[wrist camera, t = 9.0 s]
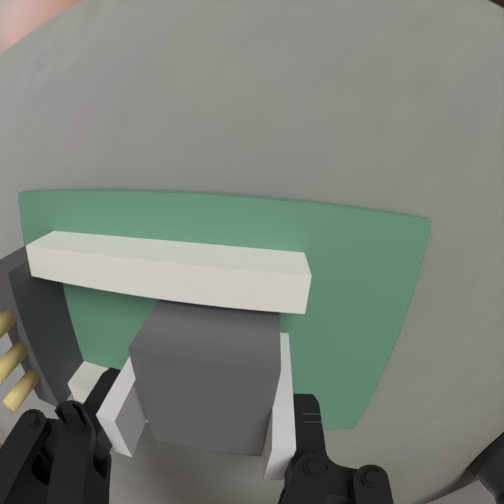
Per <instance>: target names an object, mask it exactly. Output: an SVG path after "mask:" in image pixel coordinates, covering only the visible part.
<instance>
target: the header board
mask: <svg viewBox="0 0 504 504" xmlns="http://www.w3.org/2000/svg"><path fill="white" fill-rule="evenodd" d="M18 197H19V208H20V218H21V226H22V233H23V240H24V247H22V248H20V249H19V250H17V251H15V252H13V253H11V254H10V255H8V256H6V257H4V258H3V259H1V260H0V313H1V314H0V338H1V337H2V336H3V335H4V334H6V333H7V332H8V335H9V337H10V340H11V342H12V345H13V346H12V347H11V348H10V349H9V350H8V351H7V352H6V354H5V355H4V356H3V357H2V358H1V359H0V385H1V384H2V383H3V382H4V380H5V379H6V378H7V377H8V376H9V375H10V373H11V372H12V371H13V370H14V369H15V368H16V367H17V366H18V364H19V363H21V365H22V367H23V369H24V371H25V374H24V376H23V377H22V378H21V379H20V380H19V382H18V383H17V384H16V385H15V386H14V388H13V389H12V390H11V391H10V393H9V394H8V395H7V396H6V398H5V399H4V400H3V404H4V405H5V407H6V408H7V409H8V410H9V411H11V412H12V413H15V412H16V411H17V409H18V408H19V407H20V405H21V404H22V403H23V401H24V400H25V399H26V397H27V396H28V395H29V393H30V392H31V391H32V390H33V389H34V391H35V392H36V394H37V396H38V398H39V399H41V400H43V401H45V402H47V403H49V404H52V405H54V406H56V407H57V406H58V405H59V404H60V403H62V402H65V401H66V400H67V398H68V397H69V395H70V394H71V392H72V394H73V396H74V398H75V400H77V401H80V402H82V403H84V402H85V400H86V399H87V397H88V395H89V394H90V392H91V391H92V389H93V387H94V386H95V384H96V383H97V381H98V379H99V378H100V376H101V375H102V373H103V372H105V371H106V370H108V369H109V368H110V367H112V368H116V369H120V370H122V368H123V367H124V365H125V363H126V362H127V360H128V358H129V356H130V355H129V350H128V347H129V346H130V344H131V342H132V341H133V339H134V338H135V336H136V334H137V333H138V331H139V330H140V328H141V327H142V325H143V323H144V322H145V320H146V319H147V317H148V316H149V314H150V313H151V311H152V309H153V308H154V306H155V305H156V303H157V302H158V300H159V299H163V300H170V301H178V302H186V303H194V304H202V305H210V306H219V307H229V308H238V309H249V310H259V311H271V312H280V332H281V333H288V334H289V346H290V359H291V373H292V387H293V394H313V395H314V396H315V398H316V399H317V401H318V402H319V405H320V412H321V413H320V415H321V419H322V426H323V430H333V429H352V428H355V426H356V424H357V423H358V421H359V419H360V417H361V415H362V413H363V412H364V410H365V408H366V406H367V404H368V402H369V400H370V398H371V396H372V394H373V392H374V390H375V388H376V386H377V384H378V382H379V380H380V377H381V375H382V373H383V371H384V369H385V366H386V364H387V362H388V359H389V357H390V355H391V352H392V350H393V348H394V345H395V343H396V340H397V338H398V335H399V332H400V330H401V327H402V324H403V322H404V319H405V316H406V313H407V310H408V307H409V305H410V302H411V298H412V295H413V292H414V289H415V286H416V283H417V279H418V276H419V272H420V269H421V265H422V261H423V258H424V254H425V250H426V246H427V241H428V237H429V233H430V228H431V223H432V221H431V220H429V219H427V218H424V217H418V216H412V215H406V214H400V213H394V212H387V211H381V210H374V209H367V208H360V207H352V206H345V205H337V204H329V203H320V202H312V201H302V200H293V199H283V198H272V197H261V196H249V195H236V194H222V193H206V192H187V191H164V190H127V189H69V190H35V191H23V192H20V193H18ZM146 422H147V423H148V420H147V421H146Z"/></svg>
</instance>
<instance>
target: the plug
mask: <svg viewBox="0 0 504 504" xmlns="http://www.w3.org/2000/svg"><path fill="white" fill-rule="evenodd" d="M128 350H129V355H130V359H131V363H132V367H133V371H134V375H135V379H136V383H137V387H138V390H139V394H140V397H141V401H142V404H143V407H144V411H145V414H146V417H147V420H148V423H149V426H150V429H151V432H152V435H153V438H154V440H158V441H162V442H167V443H171V444H176V445H181V446H186V447H191V448H196V449H202V450H209V451H215V452H223V453H231V454H240V455H250V456H262V452H263V448H264V444H265V439H266V435H267V430H268V426H269V421H270V417H271V412H272V407H273V406H274V401H275V397H276V392H277V388H278V383H279V378H280V373H281V345H280V312H271V311H259V310H249V309H238V308H229V307H219V306H210V305H202V304H194V303H186V302H178V301H170V300H163V299H159V300H158V302H157V303H156V305H155V306H154V308H153V309H152V311H151V313H150V314H149V316H148V317H147V319H146V320H145V322H144V323H143V325H142V327H141V328H140V330H139V331H138V333H137V334H136V336H135V338H134V339H133V341H132V342H131V344H130V346H129V347H128Z"/></svg>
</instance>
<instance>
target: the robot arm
mask: <svg viewBox="0 0 504 504" xmlns="http://www.w3.org/2000/svg"><path fill="white" fill-rule="evenodd" d="M280 345H281V373H280V378H279V383H278V388H277V392H276V397H275V401H274V406H273V407H272V412H271V417H270V421H269V426H268V430H267V435H266V439H265V447H264V471H263V480H283V479H284V477H285V486H284V488H283V490H282V492H281V494H280V499H279V502H278V504H393V499H392V494H391V489H390V484H389V479H388V476H387V473H386V471H385V470H383V469H382V468H381V467H379V466H377V465H365V466H362V467H361V468H359V469H353V468H347V467H343V466H339V465H337V464H335V463H333V462H332V461H331V460H330V459H329V457H328V456H327V453H326V449H325V441H324V434H323V426H322V419H321V415H320V413H321V412H320V405H319V402H318V401H317V399H316V398H315V396H314V395H313V394H293V387H292V373H291V359H290V346H289V334H288V333H281V332H280ZM55 413H56V414H57V416H58V417H59V419H60V420H59V419H50V418H46V417H45V415H44V414H43V413H42V412H41V411H40V410H36V409H30V410H28V411H26V412H24V413H23V414H22V416H21V417H20V419H19V420H18V422H17V423H16V425H15V426H14V428H13V429H12V431H11V432H10V434H9V436H8V437H7V439H6V440H5V442H4V444H3V445H2V447H1V449H0V504H109V487H110V471H111V455H110V453H109V452H110V450H111V447H112V446H113V448H114V450H115V452H117V453H120V454H123V455H127V456H130V457H133V454H134V451H135V449H136V446H137V444H138V441H139V438H140V436H141V433H142V431H143V428H144V426H145V423H146V421H147V417H146V414H145V411H144V407H143V404H142V401H141V397H140V394H139V390H138V387H137V383H136V379H135V375H134V371H133V367H132V363H131V359H130V356H129V358H128V360H127V362H126V363H125V365H124V367H123V368H122V370H120V369H116V368H112V367H110V368H109V369H108V370H106V371H105V372H103V373H102V375H101V376H100V378H99V379H98V381H97V383H96V384H95V386H94V387H93V389H92V391H91V392H90V394H89V395H88V397H87V399H86V400H85V402H84V404H83V405H82V404H80V403H79V402H77V401H73V400H71V401H65V402H62V403H60V404H59V405H58V406H57V407H56V409H55ZM471 469H472V472H473V474H474V476H475V478H476V479H478V480H480V481H481V482H482V484H483V485H484V486H485V487H486V488H487V489H488V490H489V491H490V492H491V493H492V494H493V496H494V498H495V500H496V503H497V504H504V434H503V435H502V436H500V437H499V438H498V439H497V440H496V441H495V442H494V443H493V444H491V445H490V446H489V447H488V448H487V449H486V450H485V451H484V452H483V453H482V454H481V455H480V456H479V457H478V458H477V459H476V460H475V462H474V463H473V464H472V466H471Z"/></svg>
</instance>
